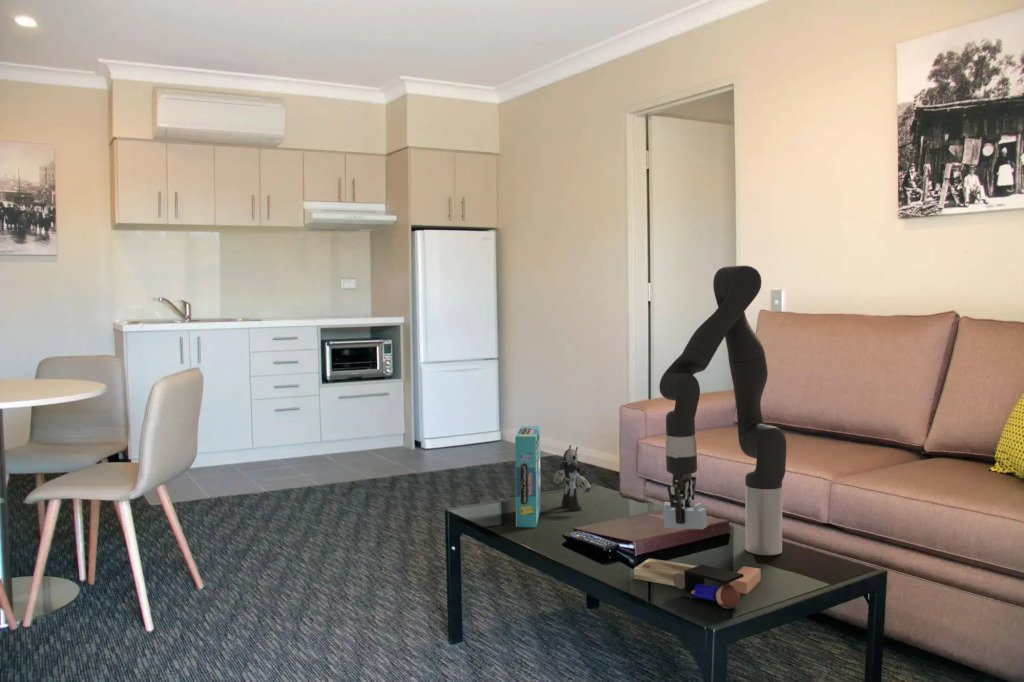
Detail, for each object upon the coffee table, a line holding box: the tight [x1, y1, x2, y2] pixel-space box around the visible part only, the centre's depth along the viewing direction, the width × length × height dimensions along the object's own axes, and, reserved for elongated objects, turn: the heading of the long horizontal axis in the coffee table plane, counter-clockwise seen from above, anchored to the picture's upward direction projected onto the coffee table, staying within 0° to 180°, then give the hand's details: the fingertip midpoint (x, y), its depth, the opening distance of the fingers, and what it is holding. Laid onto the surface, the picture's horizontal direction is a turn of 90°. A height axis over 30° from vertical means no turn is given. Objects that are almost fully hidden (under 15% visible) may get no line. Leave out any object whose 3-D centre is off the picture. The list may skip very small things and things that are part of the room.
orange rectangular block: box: [728, 565, 762, 595], centre depth 194 cm, size 11×4×3 cm, turn 148°
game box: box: [514, 425, 542, 528], centre depth 256 cm, size 20×6×27 cm, turn 175°
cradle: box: [633, 558, 697, 587], centre depth 200 cm, size 9×14×2 cm, turn 57°
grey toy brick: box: [662, 501, 708, 530], centre depth 209 cm, size 3×10×6 cm, turn 58°
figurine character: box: [673, 564, 744, 610], centre depth 184 cm, size 7×8×15 cm
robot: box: [552, 444, 592, 512], centre depth 269 cm, size 20×5×20 cm, turn 29°
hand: (683, 521), depth 209 cm, fingers closed on grey toy brick, 3 cm apart
